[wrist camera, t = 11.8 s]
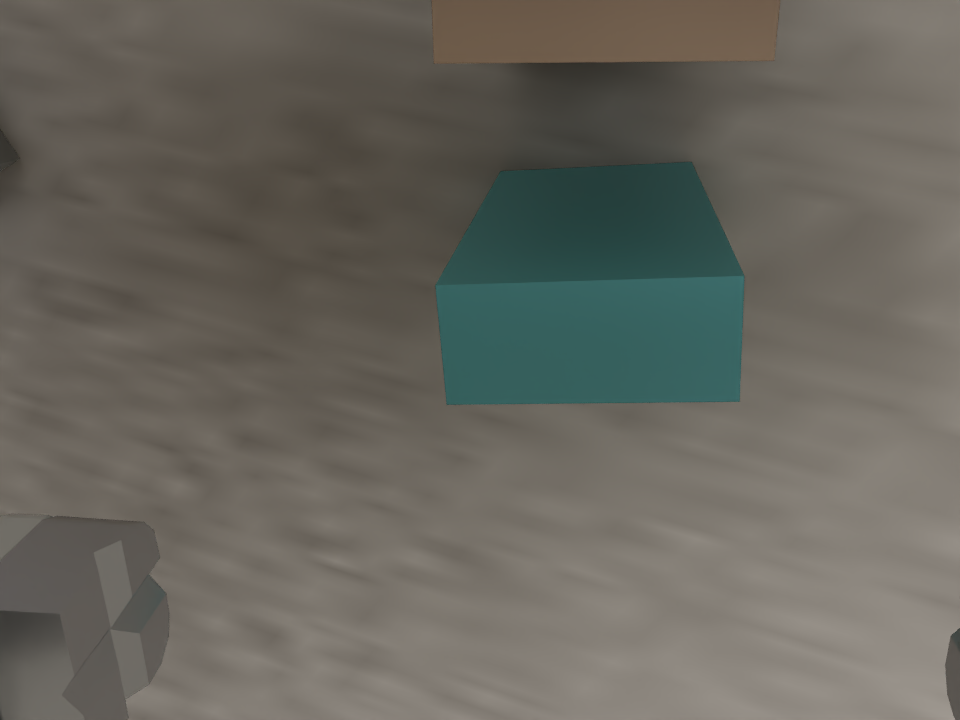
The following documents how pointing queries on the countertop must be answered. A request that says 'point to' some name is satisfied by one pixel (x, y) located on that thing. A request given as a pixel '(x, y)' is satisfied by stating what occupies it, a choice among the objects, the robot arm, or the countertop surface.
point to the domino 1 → (603, 30)
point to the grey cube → (6, 152)
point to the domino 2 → (593, 292)
